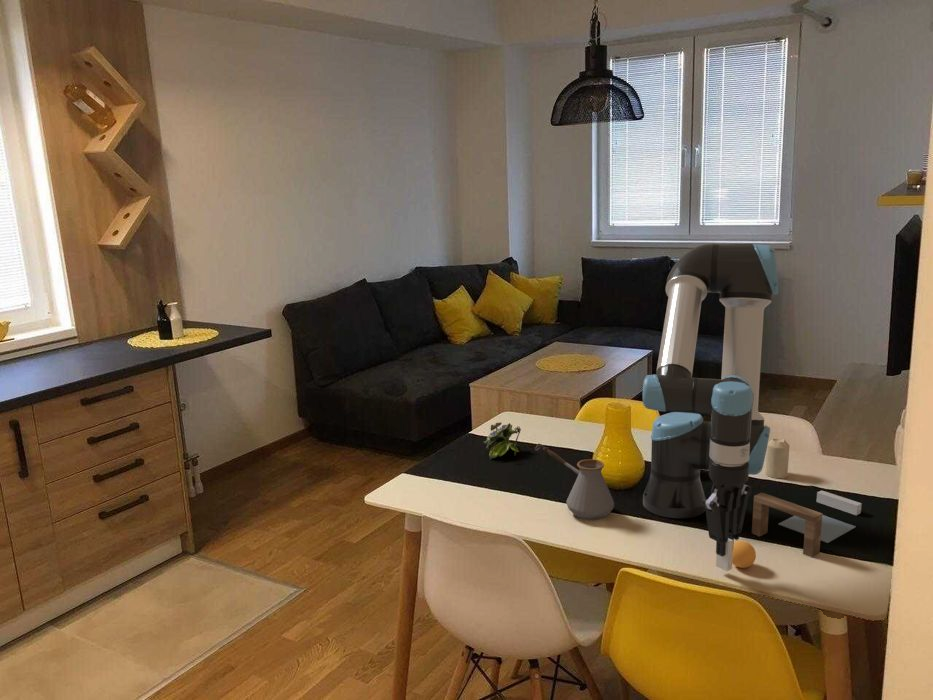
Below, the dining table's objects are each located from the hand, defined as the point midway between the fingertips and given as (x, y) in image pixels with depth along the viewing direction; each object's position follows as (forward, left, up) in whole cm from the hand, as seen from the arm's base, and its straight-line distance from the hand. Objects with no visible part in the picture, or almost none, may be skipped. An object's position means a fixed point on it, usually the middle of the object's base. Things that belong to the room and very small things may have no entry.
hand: (723, 567), depth 162 cm
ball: (0, +6, +1) cm, 6 cm away
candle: (-23, +55, -2) cm, 59 cm away
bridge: (0, +22, -2) cm, 22 cm away
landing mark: (0, +35, -2) cm, 35 cm away
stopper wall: (-2, +48, -2) cm, 48 cm away
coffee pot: (-43, -1, -2) cm, 43 cm away
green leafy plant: (-83, +10, -2) cm, 83 cm away
